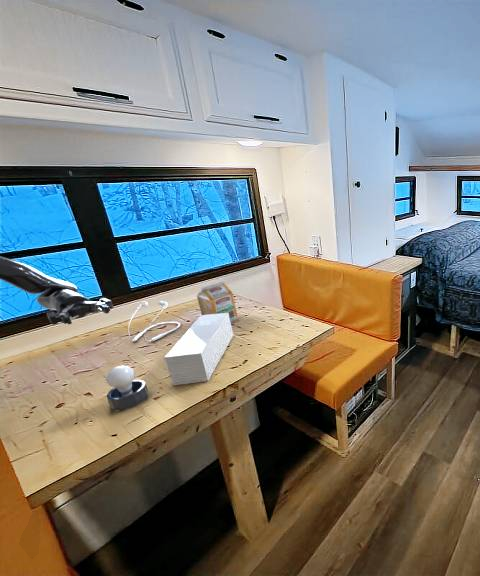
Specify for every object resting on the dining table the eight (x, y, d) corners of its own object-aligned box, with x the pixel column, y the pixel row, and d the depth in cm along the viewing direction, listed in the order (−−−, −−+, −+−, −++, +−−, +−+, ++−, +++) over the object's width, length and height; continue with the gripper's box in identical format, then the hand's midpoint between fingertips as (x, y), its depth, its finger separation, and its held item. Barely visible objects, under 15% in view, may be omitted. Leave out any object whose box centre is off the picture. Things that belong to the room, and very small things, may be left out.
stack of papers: (206, 338, 129) (200, 315, 125) (233, 335, 131) (228, 312, 127) (173, 385, 100) (164, 357, 96) (208, 381, 101) (200, 353, 98)
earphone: (116, 338, 122) (135, 298, 131) (146, 351, 137) (161, 314, 146) (149, 338, 122) (166, 298, 131) (175, 351, 136) (189, 314, 145)
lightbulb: (111, 401, 92) (98, 370, 88) (134, 388, 97) (123, 359, 93) (122, 407, 89) (110, 376, 85) (146, 394, 95) (135, 364, 91)
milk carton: (216, 329, 136) (207, 289, 130) (204, 324, 142) (194, 285, 135) (238, 320, 145) (230, 282, 138) (225, 315, 150) (217, 279, 144)
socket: (134, 410, 89) (130, 399, 88) (102, 411, 89) (98, 400, 88) (155, 389, 98) (152, 379, 97) (126, 390, 98) (122, 380, 96)
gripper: (35, 301, 92) (50, 312, 83) (96, 287, 103) (114, 296, 95) (45, 323, 94) (60, 336, 86) (103, 307, 106) (122, 317, 97)
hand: (88, 315), depth 90 cm, fingers open, 8 cm apart
